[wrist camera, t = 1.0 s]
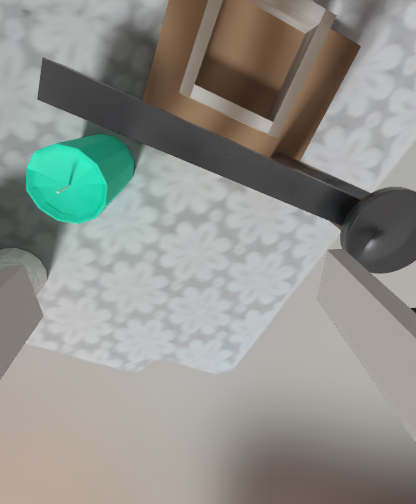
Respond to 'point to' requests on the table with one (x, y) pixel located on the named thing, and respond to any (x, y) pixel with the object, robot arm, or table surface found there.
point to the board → (250, 69)
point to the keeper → (249, 168)
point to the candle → (79, 177)
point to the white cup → (31, 264)
